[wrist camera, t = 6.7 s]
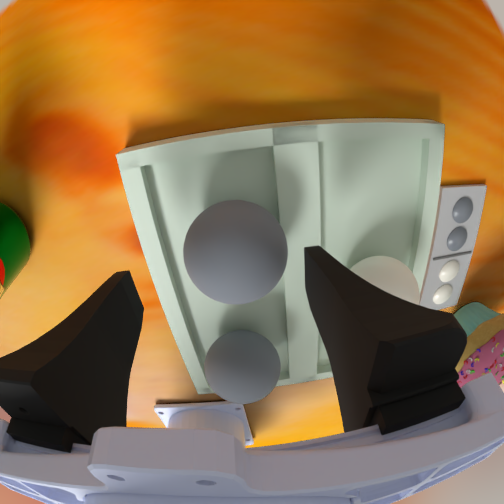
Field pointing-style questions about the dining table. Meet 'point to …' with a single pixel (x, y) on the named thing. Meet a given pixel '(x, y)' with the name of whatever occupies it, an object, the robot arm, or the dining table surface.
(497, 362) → the cupcake
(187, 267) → the charcoal ball front
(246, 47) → the dining table surface
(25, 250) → the soda can
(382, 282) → the cream ball middle
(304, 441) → the robot arm
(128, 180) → the rack
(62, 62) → the dining table surface
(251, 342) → the charcoal ball back
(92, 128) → the dining table surface
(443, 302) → the card
